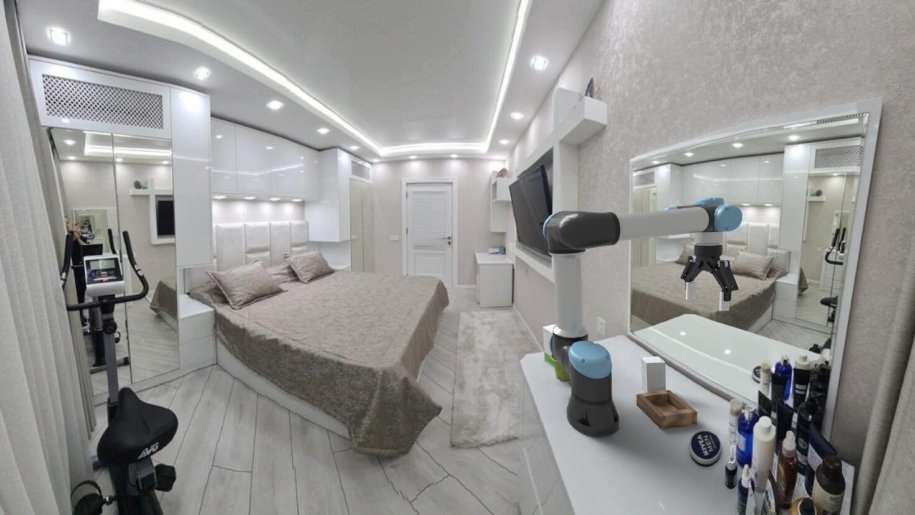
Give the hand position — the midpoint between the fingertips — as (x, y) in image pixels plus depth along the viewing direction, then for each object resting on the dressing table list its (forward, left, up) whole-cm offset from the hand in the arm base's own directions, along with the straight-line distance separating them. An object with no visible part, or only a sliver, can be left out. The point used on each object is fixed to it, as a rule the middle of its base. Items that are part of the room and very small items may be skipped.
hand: (706, 304), depth 107 cm
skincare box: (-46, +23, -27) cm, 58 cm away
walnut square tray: (-26, -15, -27) cm, 41 cm away
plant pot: (-47, +12, -27) cm, 56 cm away
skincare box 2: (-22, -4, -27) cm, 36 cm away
